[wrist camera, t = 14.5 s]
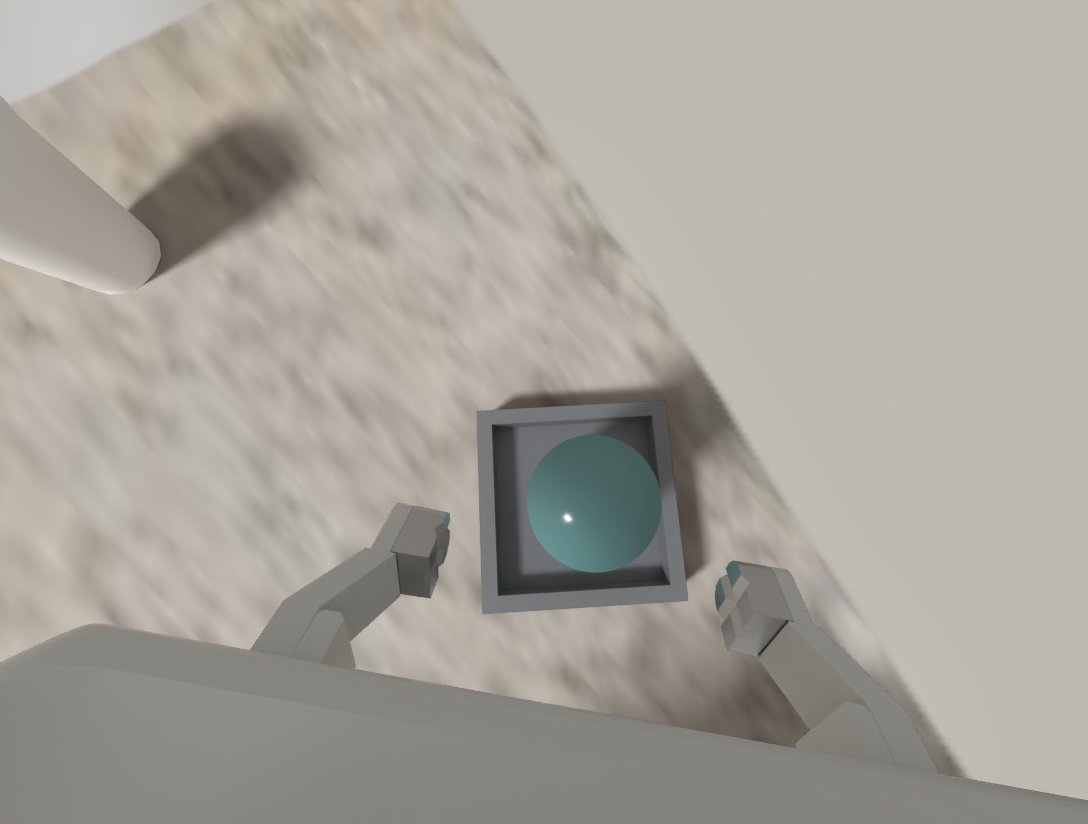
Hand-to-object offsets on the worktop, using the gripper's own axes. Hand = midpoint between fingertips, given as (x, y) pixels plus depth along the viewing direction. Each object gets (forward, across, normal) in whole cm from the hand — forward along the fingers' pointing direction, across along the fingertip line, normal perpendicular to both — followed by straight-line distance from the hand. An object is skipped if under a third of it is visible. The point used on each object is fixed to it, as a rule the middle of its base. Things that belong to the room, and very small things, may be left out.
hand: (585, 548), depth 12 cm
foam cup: (+24, +38, +4) cm, 45 cm away
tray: (+14, -1, +12) cm, 19 cm away
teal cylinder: (+13, -1, +12) cm, 18 cm away
